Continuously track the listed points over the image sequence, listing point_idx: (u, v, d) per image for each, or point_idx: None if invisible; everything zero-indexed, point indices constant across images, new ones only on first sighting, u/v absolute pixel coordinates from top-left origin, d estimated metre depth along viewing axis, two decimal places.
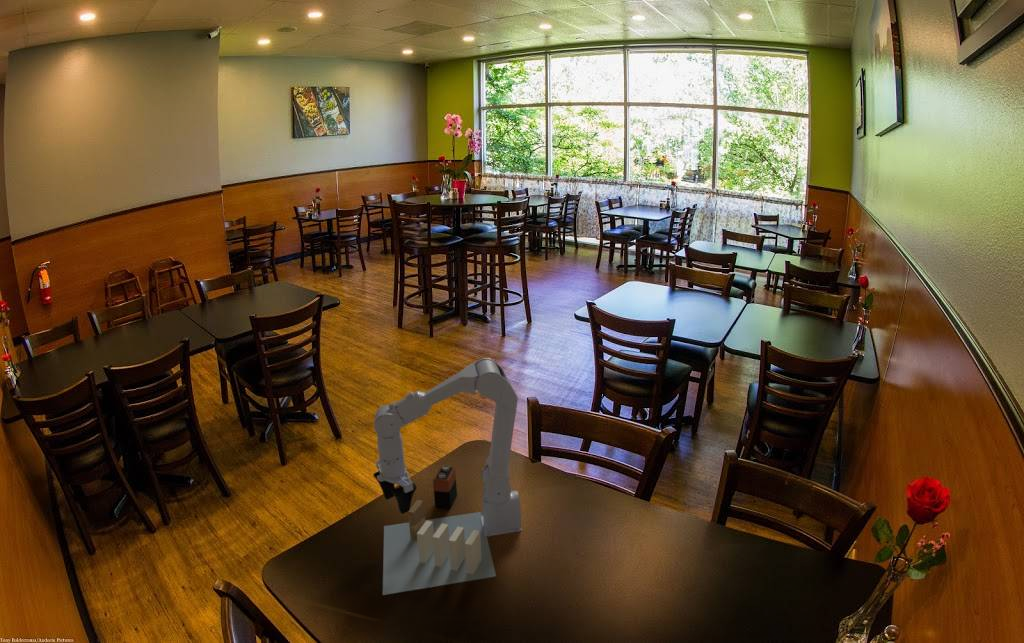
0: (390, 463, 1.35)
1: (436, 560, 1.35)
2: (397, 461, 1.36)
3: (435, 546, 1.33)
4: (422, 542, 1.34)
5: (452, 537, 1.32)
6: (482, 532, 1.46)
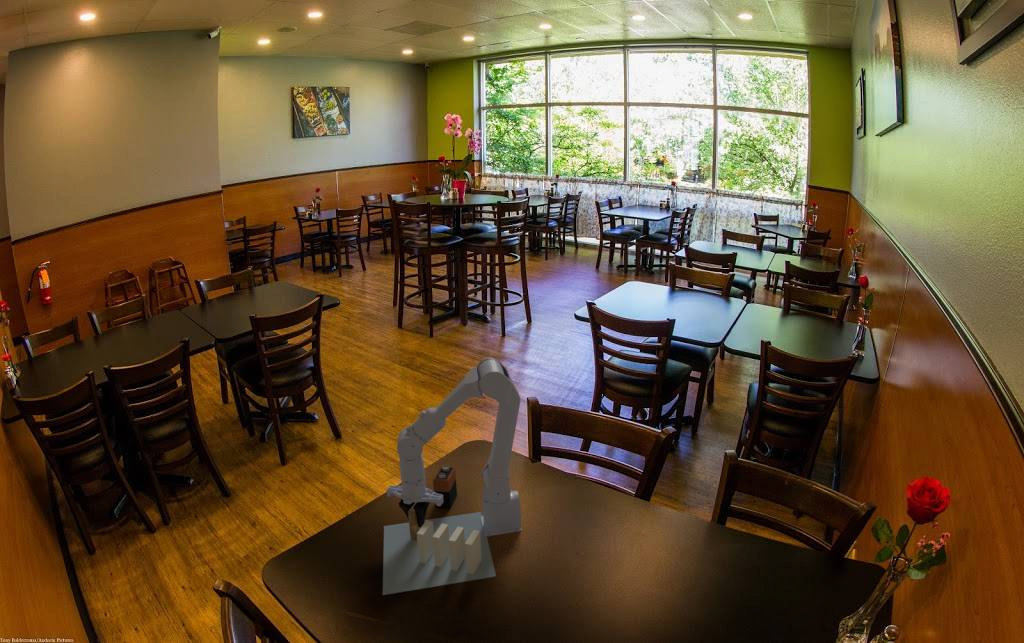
0: (418, 483, 1.39)
1: (436, 560, 1.35)
2: (423, 479, 1.41)
3: (435, 546, 1.33)
4: (422, 542, 1.34)
5: (452, 537, 1.32)
6: (482, 532, 1.46)
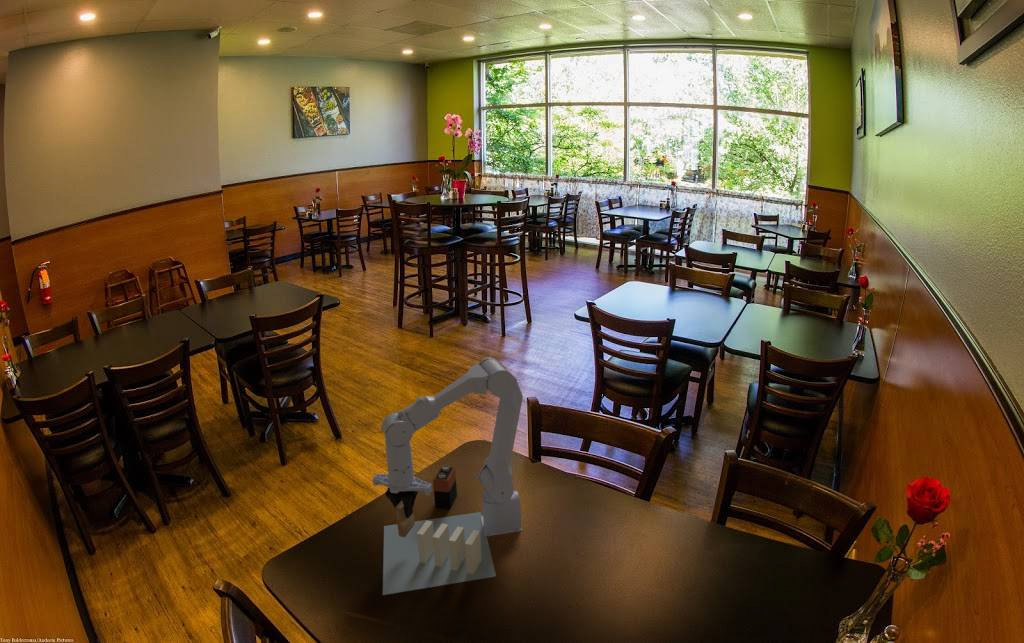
0: (405, 471, 1.32)
1: (436, 560, 1.35)
2: (411, 467, 1.33)
3: (435, 546, 1.33)
4: (422, 542, 1.34)
5: (452, 537, 1.32)
6: (482, 532, 1.46)
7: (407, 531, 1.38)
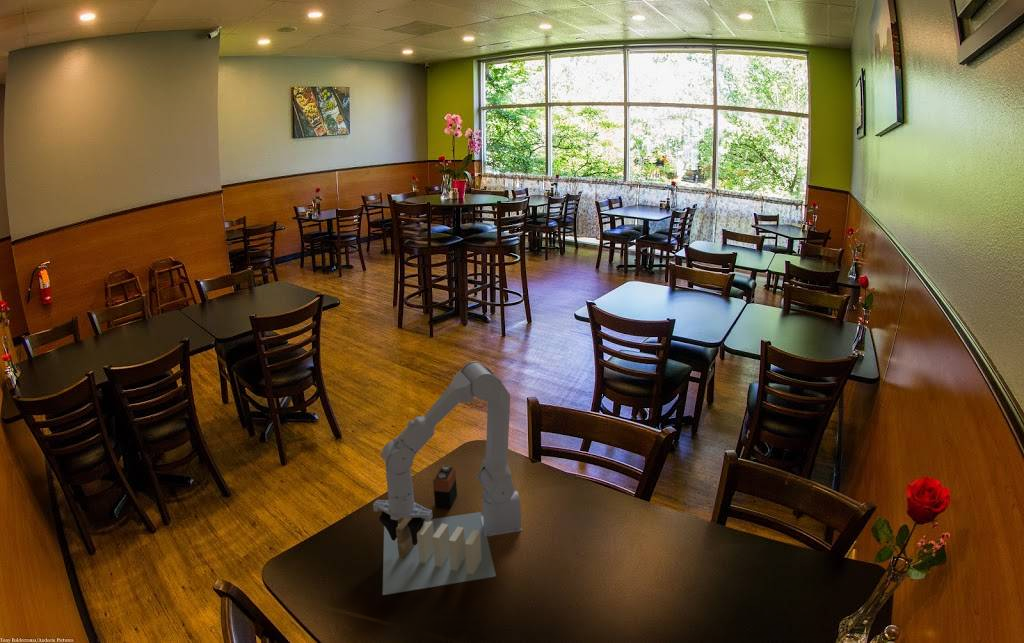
0: (406, 498, 1.33)
1: (436, 560, 1.35)
2: (411, 494, 1.34)
3: (435, 546, 1.33)
4: (422, 542, 1.34)
5: (452, 537, 1.32)
6: (482, 532, 1.46)
7: (407, 552, 1.39)
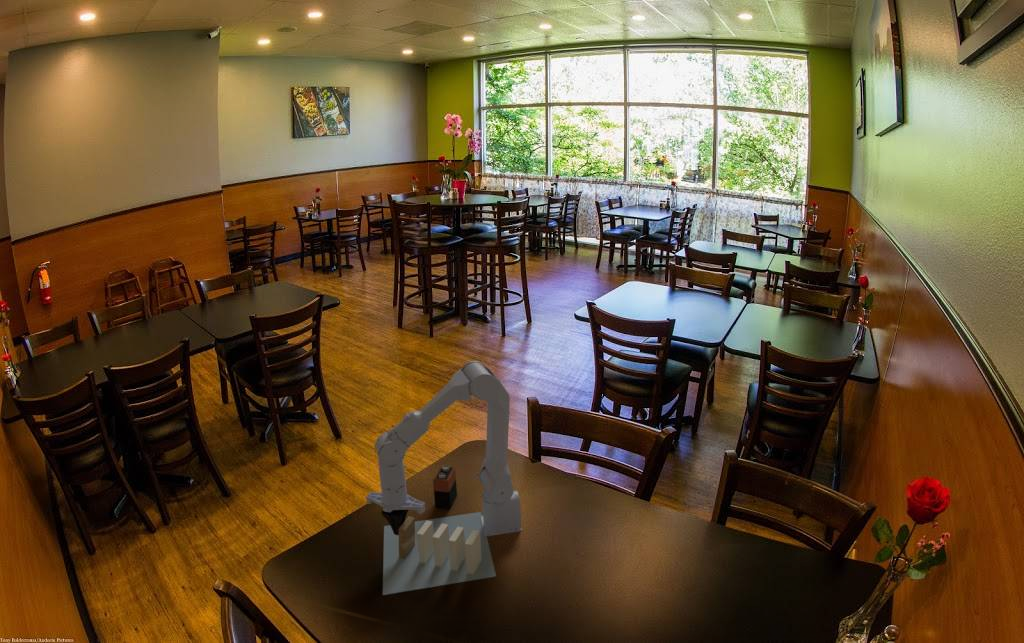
0: (399, 490, 1.33)
1: (436, 560, 1.35)
2: (404, 486, 1.34)
3: (435, 546, 1.33)
4: (422, 542, 1.34)
5: (452, 537, 1.32)
6: (482, 532, 1.46)
7: (407, 552, 1.39)
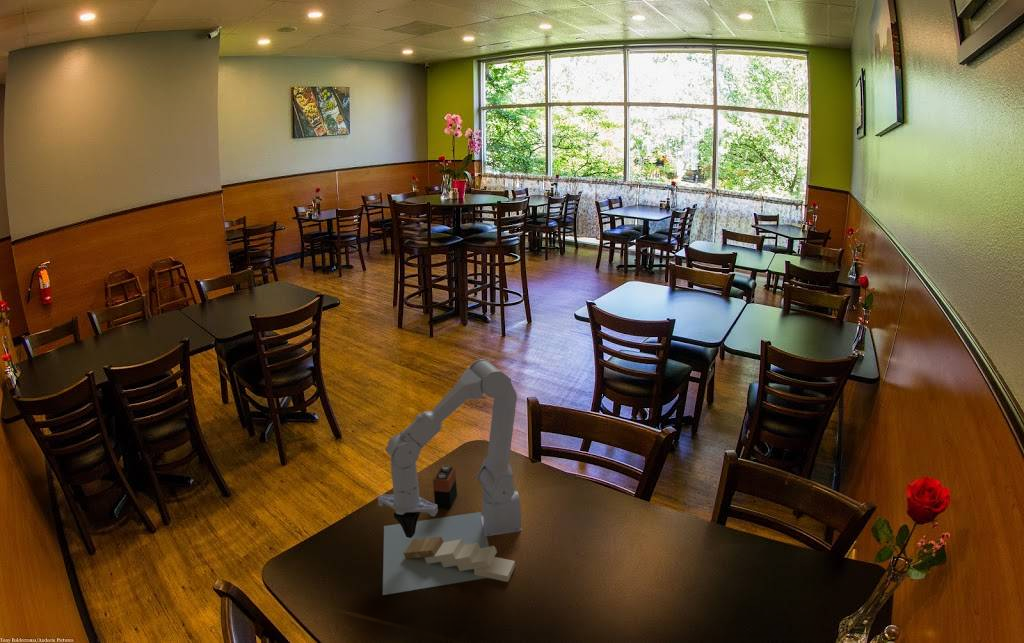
0: (411, 492, 1.32)
1: (447, 562, 1.34)
2: (416, 488, 1.33)
3: (461, 560, 1.32)
4: (447, 559, 1.34)
5: (488, 558, 1.31)
6: (482, 532, 1.46)
7: None
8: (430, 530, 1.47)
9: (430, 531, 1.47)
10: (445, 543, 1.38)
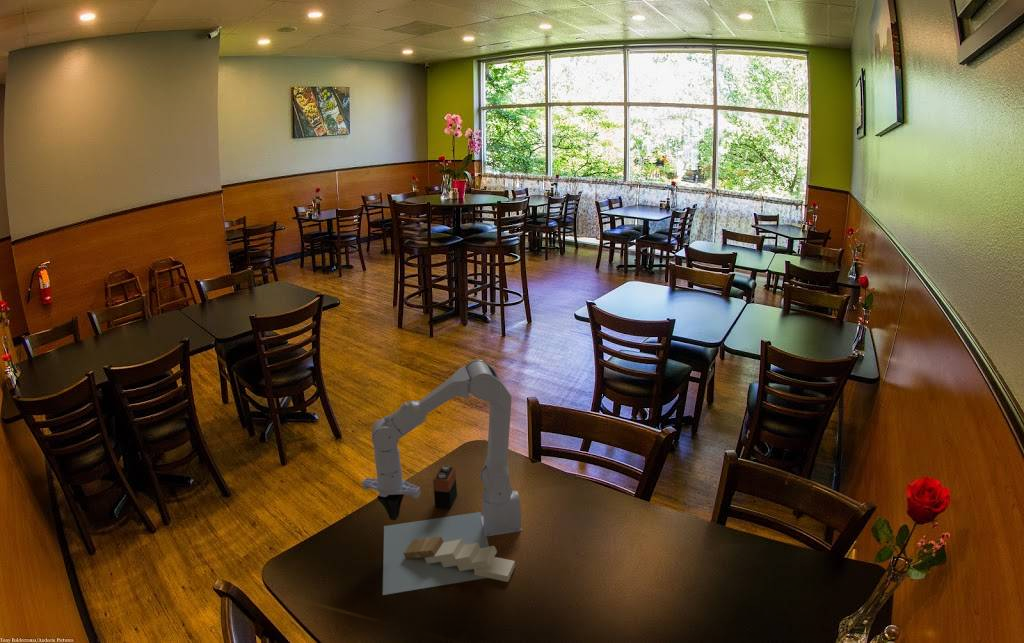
0: (394, 475, 1.35)
1: (447, 562, 1.34)
2: (399, 471, 1.37)
3: (461, 560, 1.32)
4: (447, 559, 1.34)
5: (488, 558, 1.31)
6: (482, 532, 1.46)
7: None
8: (430, 530, 1.47)
9: (430, 531, 1.47)
10: (445, 543, 1.38)
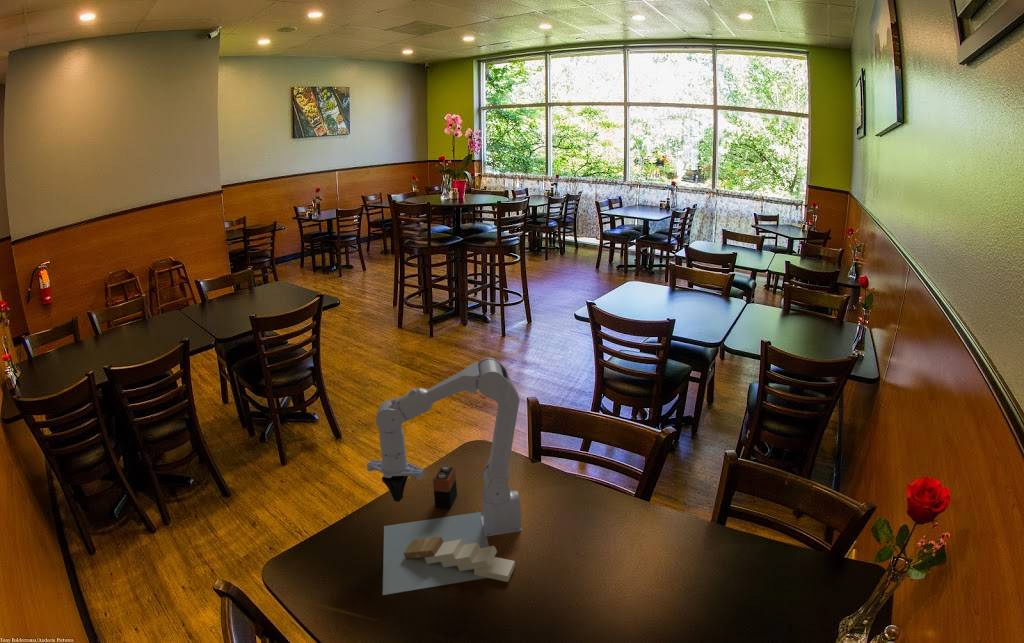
0: (398, 456, 1.37)
1: (447, 562, 1.34)
2: (403, 453, 1.39)
3: (461, 560, 1.32)
4: (447, 559, 1.34)
5: (488, 558, 1.31)
6: (482, 532, 1.46)
7: None
8: (430, 530, 1.47)
9: (430, 531, 1.47)
10: (445, 543, 1.38)
